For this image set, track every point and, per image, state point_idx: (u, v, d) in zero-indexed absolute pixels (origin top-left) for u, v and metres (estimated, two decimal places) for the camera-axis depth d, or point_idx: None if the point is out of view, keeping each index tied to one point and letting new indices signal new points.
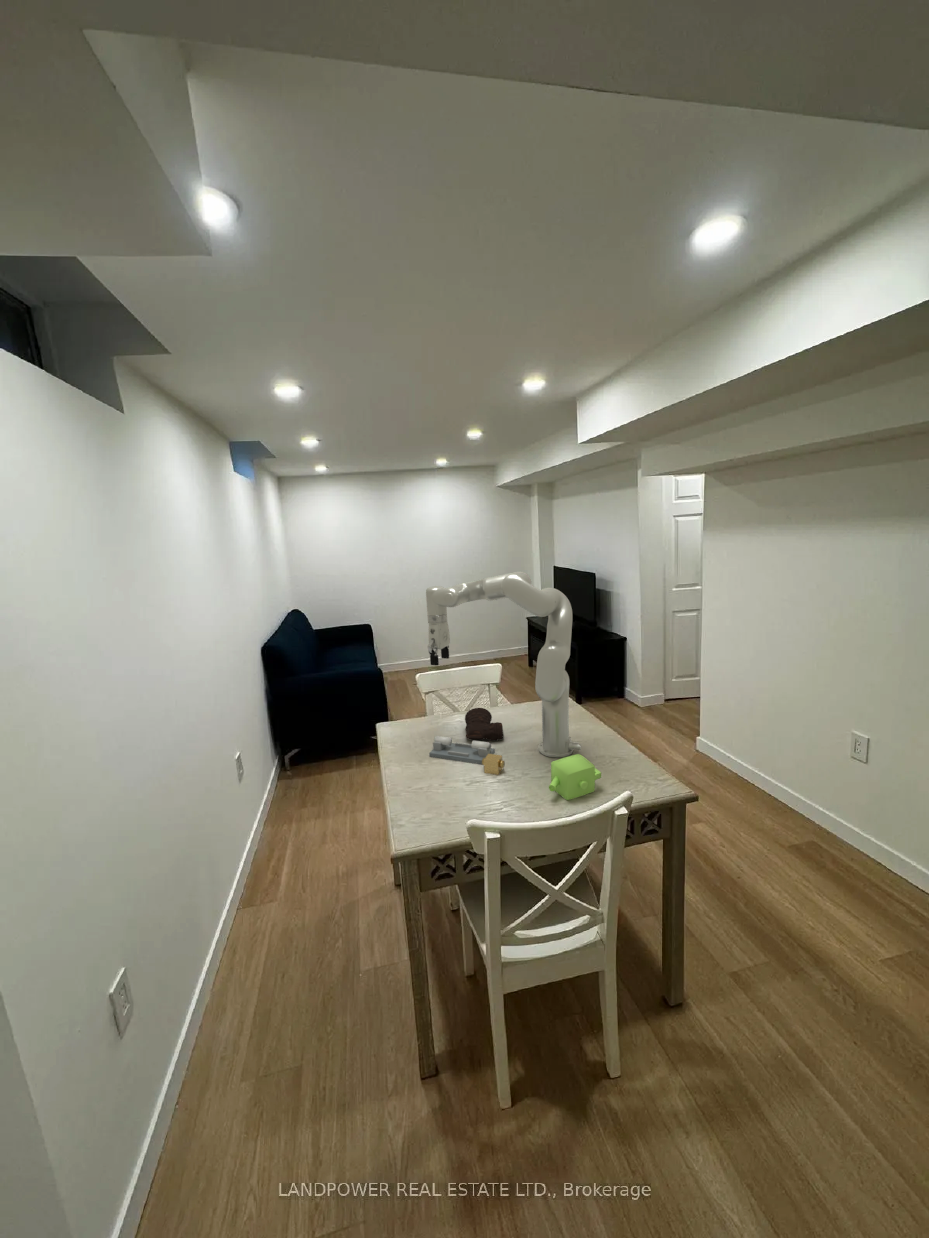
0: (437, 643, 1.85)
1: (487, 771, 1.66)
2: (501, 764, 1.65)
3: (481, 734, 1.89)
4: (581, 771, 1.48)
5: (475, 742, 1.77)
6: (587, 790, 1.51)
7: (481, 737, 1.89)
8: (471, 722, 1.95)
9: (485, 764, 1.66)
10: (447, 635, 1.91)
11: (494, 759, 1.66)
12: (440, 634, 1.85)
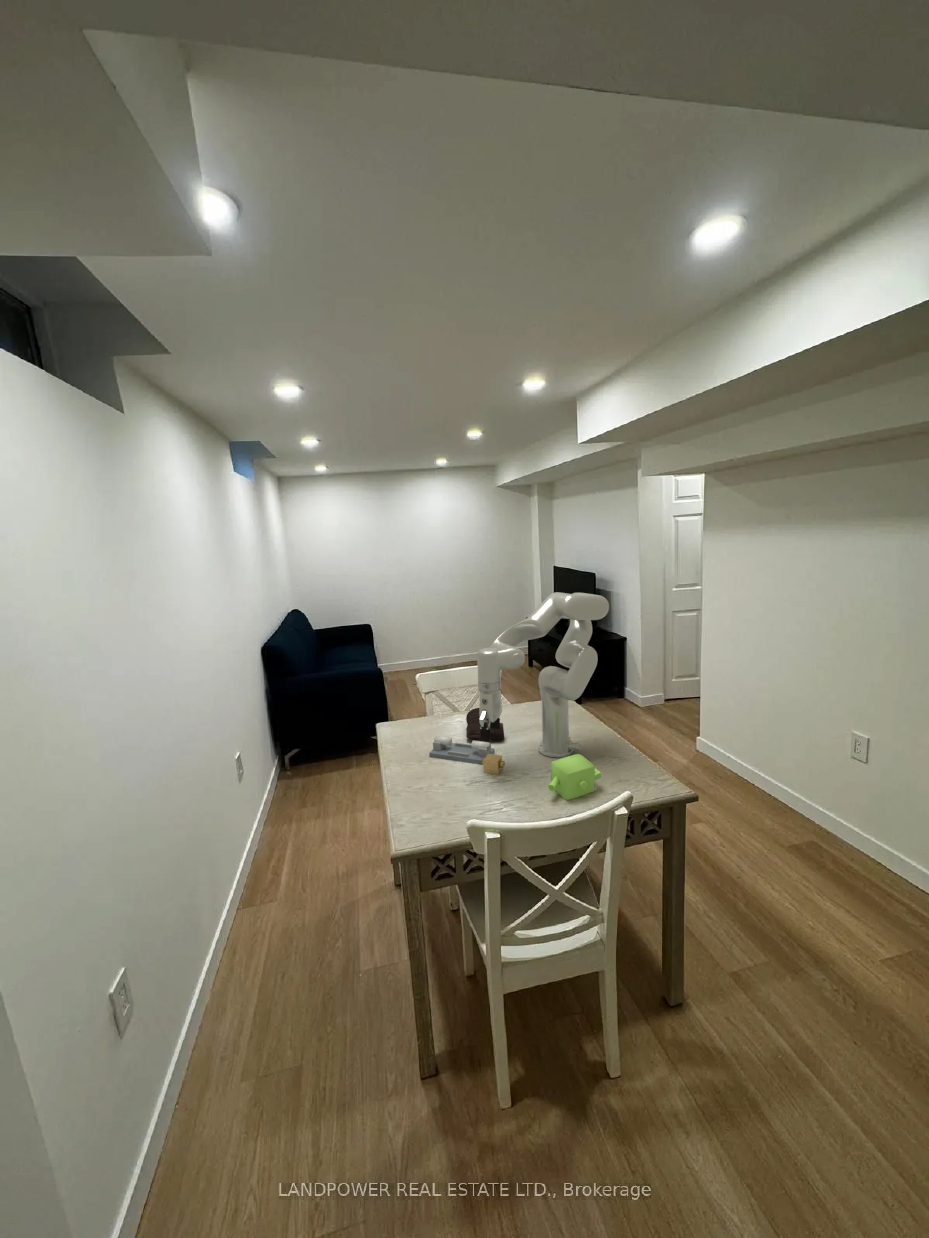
0: (490, 715, 1.58)
1: (487, 771, 1.66)
2: (501, 764, 1.65)
3: None
4: (581, 771, 1.48)
5: (475, 742, 1.77)
6: (587, 790, 1.51)
7: None
8: (472, 722, 1.95)
9: (485, 764, 1.66)
10: (499, 704, 1.65)
11: (494, 759, 1.66)
12: (493, 705, 1.59)
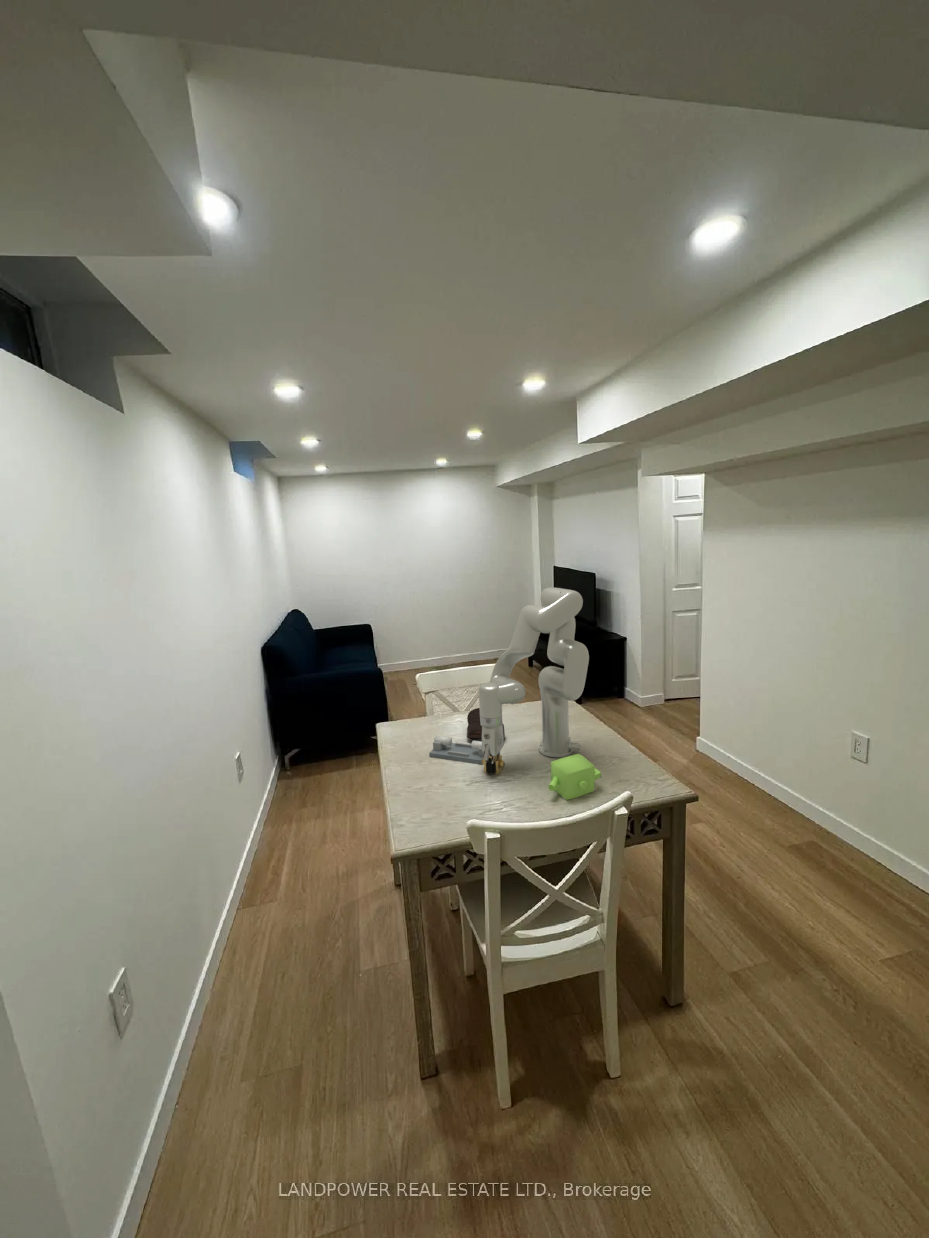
0: (492, 750, 1.61)
1: None
2: (501, 764, 1.65)
3: None
4: (581, 771, 1.48)
5: (475, 742, 1.77)
6: (587, 790, 1.51)
7: None
8: (472, 722, 1.95)
9: (485, 764, 1.66)
10: (502, 737, 1.67)
11: (494, 759, 1.66)
12: (495, 739, 1.61)
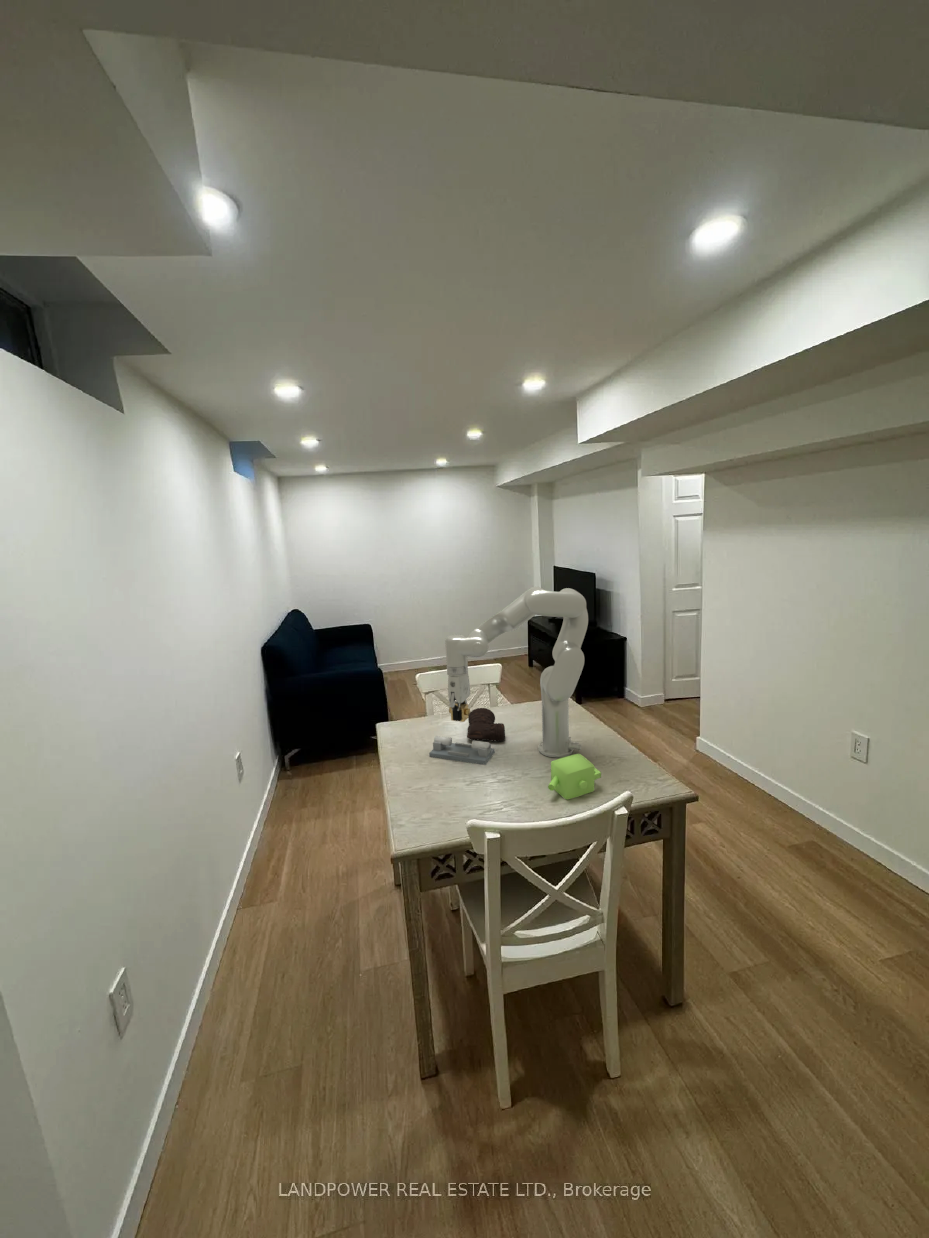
0: (457, 697, 1.71)
1: None
2: (466, 711, 1.75)
3: (482, 734, 1.89)
4: (580, 771, 1.48)
5: (475, 742, 1.77)
6: (587, 790, 1.51)
7: (482, 737, 1.89)
8: (473, 722, 1.95)
9: None
10: (467, 686, 1.77)
11: (460, 707, 1.76)
12: (461, 687, 1.72)
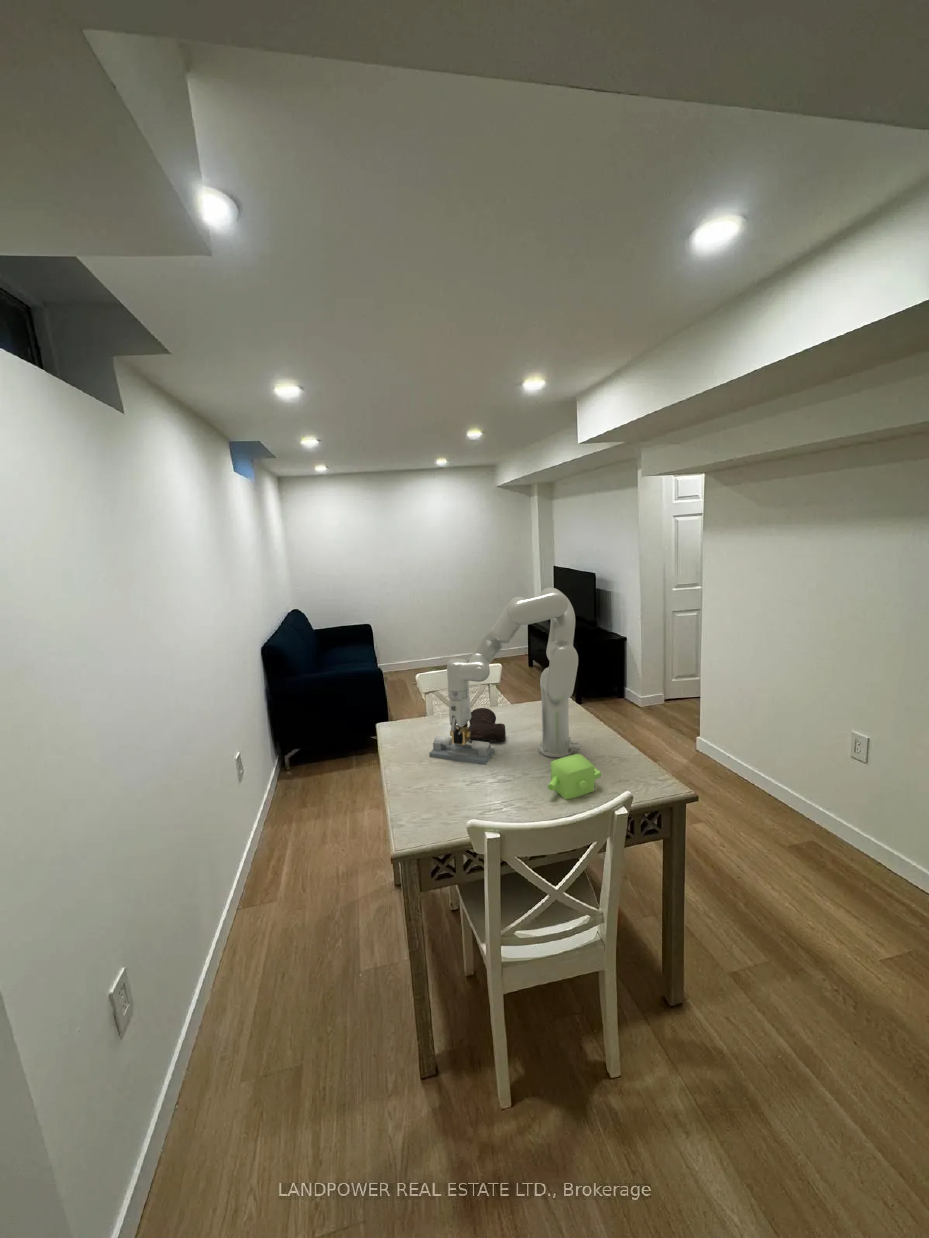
0: (458, 721, 1.73)
1: None
2: (467, 735, 1.77)
3: (482, 734, 1.89)
4: (580, 771, 1.48)
5: (475, 742, 1.77)
6: (586, 790, 1.51)
7: (482, 737, 1.88)
8: (474, 722, 1.95)
9: (452, 735, 1.78)
10: (468, 710, 1.79)
11: (461, 730, 1.78)
12: (462, 711, 1.73)
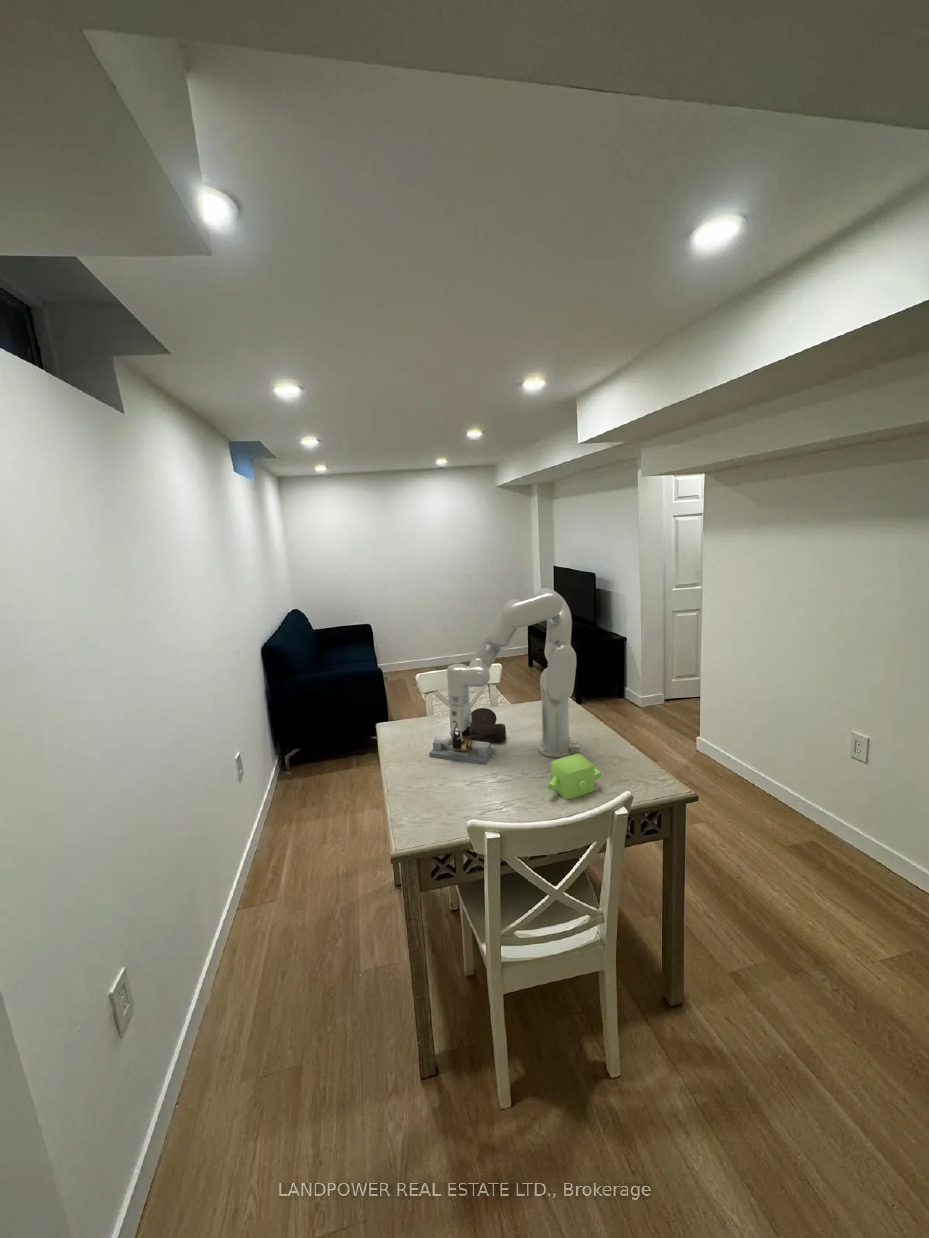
0: (459, 726, 1.73)
1: (456, 751, 1.79)
2: (469, 744, 1.78)
3: (482, 735, 1.89)
4: (580, 771, 1.48)
5: (475, 742, 1.77)
6: (586, 790, 1.51)
7: (482, 738, 1.88)
8: (474, 722, 1.95)
9: None
10: (469, 715, 1.79)
11: (462, 739, 1.78)
12: (462, 716, 1.74)
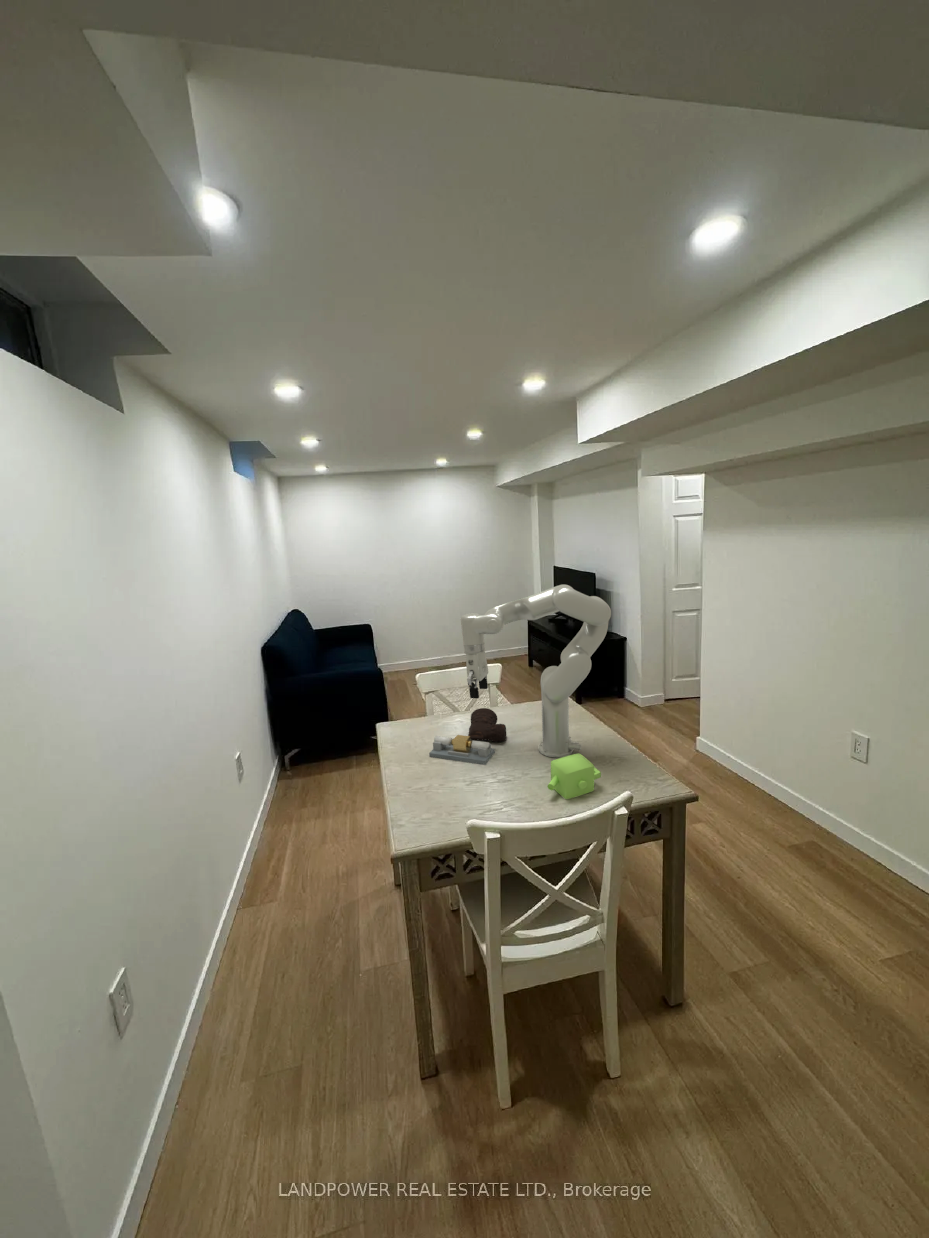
0: (476, 675, 1.72)
1: (456, 751, 1.79)
2: (469, 744, 1.78)
3: (483, 735, 1.89)
4: (580, 770, 1.48)
5: (475, 742, 1.77)
6: (586, 789, 1.51)
7: (482, 738, 1.88)
8: (475, 722, 1.94)
9: (454, 744, 1.79)
10: (485, 664, 1.78)
11: (462, 739, 1.78)
12: (479, 665, 1.72)
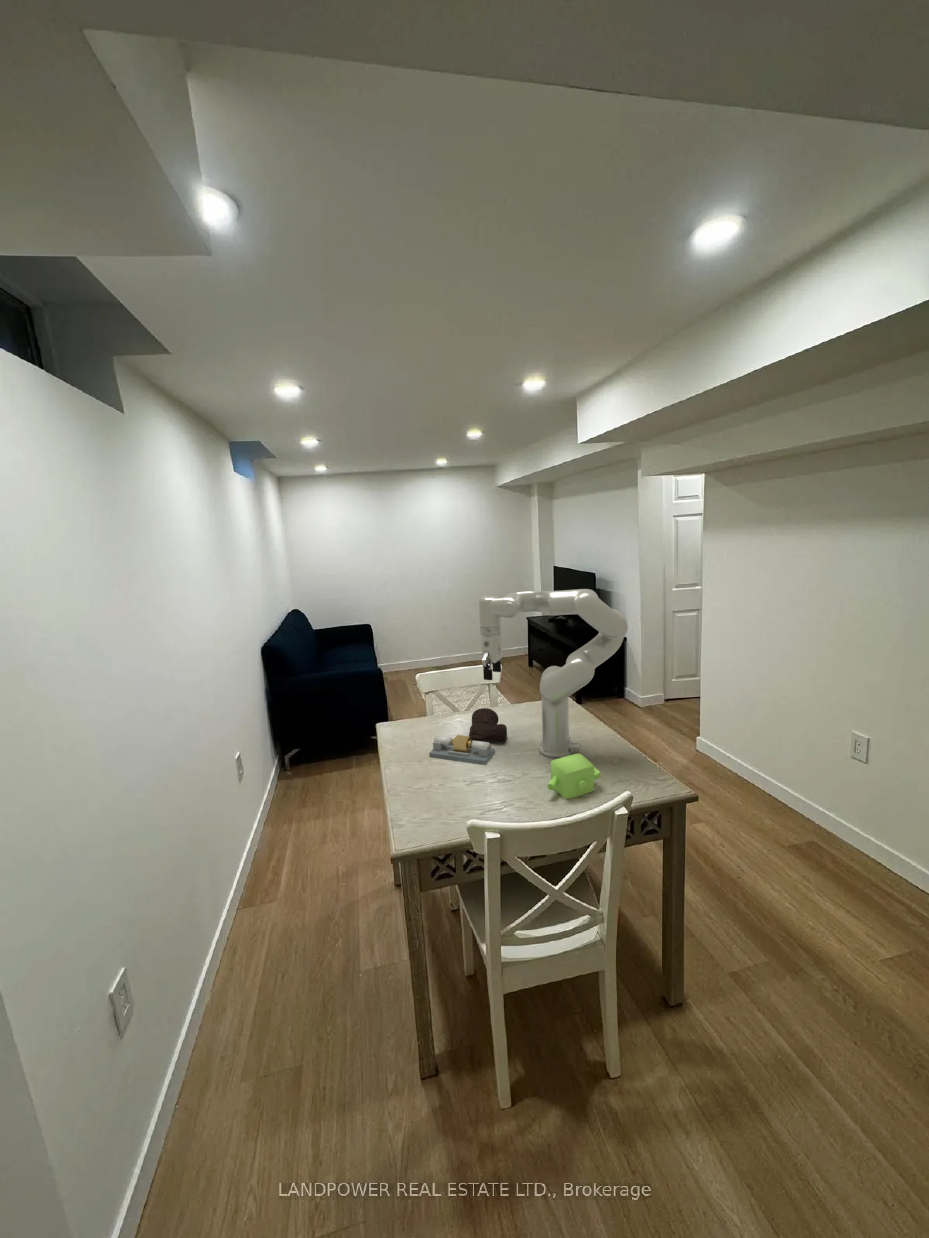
0: (491, 656, 1.73)
1: (456, 751, 1.79)
2: (469, 744, 1.78)
3: (483, 735, 1.88)
4: (580, 770, 1.48)
5: (475, 742, 1.77)
6: (586, 789, 1.51)
7: (483, 738, 1.88)
8: (475, 722, 1.94)
9: (454, 744, 1.79)
10: (500, 647, 1.79)
11: (462, 739, 1.78)
12: (494, 647, 1.73)
